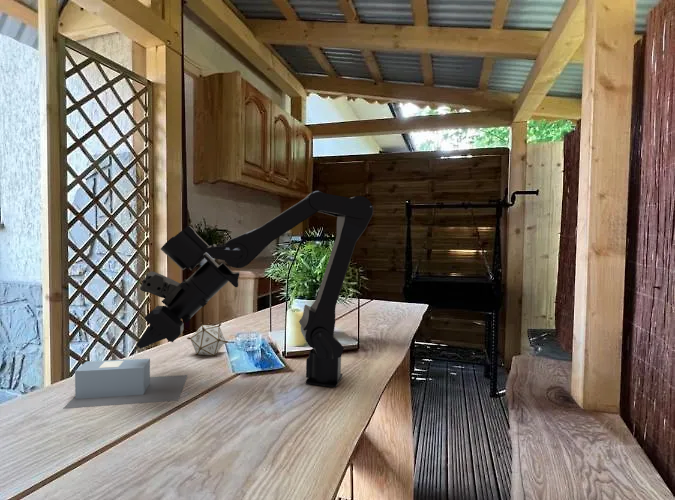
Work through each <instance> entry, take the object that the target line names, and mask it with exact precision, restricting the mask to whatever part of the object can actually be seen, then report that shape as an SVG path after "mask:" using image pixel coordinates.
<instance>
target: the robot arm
mask: <svg viewBox="0 0 675 500" xmlns="http://www.w3.org/2000/svg"><path fill="white" fill-rule="evenodd" d="M317 213H322V214H325V215H329V216H333V217H337V218H336V237H335V240H334V243H333V247H332V250H331V252H330V255H329V258H328V262H327V265H326V267H325V271H324V275H323V277H322V281H321V284H320V286H319V290H318V293H317V295H316V298H315V300H314V301H313V303H312V304H311V306H310V305H308V304H305V305H304V307H303V312H302V316H301V318H300V319H299V321H298V322H299V325H300V332H301V334H302V337H303V338H304V340H305V342H306V343H307V345H308V346H309V347H310V348H311V349H310V350H309V351H308V357H307V358H306V359H305V360H306V365H305V377H306V380H305V384H306V385H313V386H320V387H329V388H336V387H338V385H339V383H340V381H341V379H342V378H343V373H341V371H342V368H341V367H342V355H343V352H344V350H345V347H344V346H343V345H342V343H341V342H340V341H339V340H338V338H337V337H336V336H335V335H334V333H335V327H336V307H337V303H338V300H339V297H340V293H341V291H342V287H343V284H344V281H345V278H346V276H347V273H348V272H347V271H348V269H349V266H350V263H351V260H352V256H353V254H354V250H355V248H356V247H355V246H356V244H357V242H358V240H359V238H361V236H362V235H363V234H364V232H365V230H366V229H367V228H368V225H369V223H370V222H371V220H372V217H373V215H374V206H373V203H372V202H371V201H370V200H369V198H367V197H366V196H362V195H357V196H352V197H347V196H341V195H337V194H331V193H325V192H322V190H321V191H320V190H315V191H312V192H310V193H308V194H307V195H306V196H305V198H303V199H301V200H300V201H299V202H297V203H295V204H294V205H291V207H288V209H285V210H284V211H283V212H281V213H279V214H278V215H277V216H275V217H274V218H272V219H270V220H269V221H267V222H266V223H264V224H262V225H261V226H258V227H256V228H254V229H251V230H249V231H247V232H244V233H242V234H241V233H240V234H239V235H237V236H235V237H232V238H230V239H229V240H228V241H226V242H225V243H219V244H215V243H213V244H212V245H209V244H208V243H207V242H206V241H205V240H204V239H203V238H202V237H201V236H200V235H199V234H198V233H197V232H196V230H195V229H194V228H193V227H192V226H190V225H187V226H186V227H185V228H184V229H183V230H181V231H180V232H178V233H177V234H175V236H174V235H173V236H171V238H169V240H168V241H166V242H165V243H164V244H163V245H162V247H160V251H161V252H162V253H164V254H165V255H166V256H167V257H168V258H170V259H171V261H172V262H174V263H175V264H176V265H177V266H178V267H179V268H180V269H181V270H182V271H184V270H185V269H187V270H190V271H193V269H195V268H196V267H197V266H198V265H199V264H200V263H201V262H202V261H203V260H206V261H205V262H204V263H203V264H202V265H201V266H199V268H198V269H196V271H194V273H192V274H191V275H190V276H189V277H188V278H187V279H186V278H185V279H184V280H183V281H181V282H178V281H176V280H174V279H173V278H170V277H167V276H165V275H163V274H161V273H159V272H155V271H150V272H148V273H147V274H145V275H146V276H145V277H144V279H142V281H141V285H140V287H139V290H140V291H142V292H143V293H149V294H151V295H154V296H156V297H159V298H162V300H161V303H163V305H157V306H155V307H154V308H153V309H152V310H151V311H150V312H149V313H148V314H146V316H145V317H144V320H145V322H147V323H148V324H149V326H148V327H147V329H146V330H145V331H144V333H143V334H142V336H141V338H140V339H139V340H138V341H137V342H136V345H135V346H136V347H137V348H139V349H144V348H146V347H147V346H150V345H153V344H155V343H157V342H160V341H163V340H167V341H168V342H170V343H173V342H174V341H176V340H177V339H178V338H179V336H180V337H181V335H182V333H183V331H184V329H185V328H184V323H186V324H187V323H188V322H190V320H191V319H192V317H193V316H194V315H195V314H196V313H197V312H198V311H199V310H200V309H202V308H204V307H205V306H206V305H207V304H208V302H209V301H210V300H212V298H213V297H214V296H215V295H216V294H218V292H219V291H220V290H222V289H223V288H224V286H226V285H227V284H228V283H230V284H231V285H232V286H233V287H234V288H238V287H239V277H240V274H241V273H240V272H239V271H236V272H235V271H234V272H233V270H231V269H230V267H232V268H235V269H241V268H245V267H246V266H249V264H251V263H252V261H254V259H256V258H257V257H258V256H259V255H260V254H261V253H262V252H263V251H264V250H265V248H267V247H268V246H269V245H270V244H271V243H272V242H273V241H276V240H277V239H278V238H279V237H281V236H282V235H284V234H286V233H287V232H289V231H290V230H292V229H293V228H295V227H297V226H298V225H300V224H301V223H303V222H305V221H306V220H307V219H309V218H310V217H311V216H313V215H315V214H317ZM214 259H216V260H220V261H224V262H222V263H220V264H219V263H217V262H216V261H215V260H214ZM225 263H226V264H227V265H226V264H225ZM228 266H229V267H228Z"/></svg>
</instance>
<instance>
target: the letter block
mask: <svg viewBox="0 0 675 500" xmlns="http://www.w3.org/2000/svg"><path fill="white" fill-rule="evenodd" d="M150 377H151V358H133V359H132V358H131V359H112V360H111V359H110V360H89V361H85V362H84V363H83V364H81V365H80V366H79V367H78V368H77V369H75V370H74V394H75V396H74V397H75V399H84V398H99V397H114V396H129V395H143V394H144V393H145V391H146V389H147V388H148V386H149V384H150Z"/></svg>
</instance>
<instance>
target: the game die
mask: <svg viewBox="0 0 675 500" xmlns="http://www.w3.org/2000/svg"><path fill="white" fill-rule="evenodd" d="M221 326H222V323H219V324H218V325H214V324H213V325H209V324H203V322H202V321H201V322H200V326H199V327H198V329H197V330H196V331H195V333H193V334H192V335H191V337H189V336H188V337H186V339H187V340H190V342H191V345H192V346H193V349H194V351H195V353H196V354H195V356H211V357H212V356H213V357H216V356H217V355H216V354H217V353H218V352H219V351H220V350H221V348H222V347H223V345H224V344H227V343H229V341H228V340H225V337H224V334H223V332H222V329H221V328H220V327H221Z"/></svg>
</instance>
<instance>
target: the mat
mask: <svg viewBox="0 0 675 500" xmlns="http://www.w3.org/2000/svg"><path fill="white" fill-rule="evenodd" d="M188 376H189V374H182V375H181V374H180V375H179V374H178V375H165V376H164V375H162V376H160V375H159V376H150V384H149V386H148V388H147V389H146V391H145V393H144V394H143V395H129V396H114V397H99V398H84V399H75V396H74V397H73V398H72V399H71V400H70V401H69V402H68V403H66V404H65V406H64V407H63V408H62V410H63V409H78V408H81V409H82V408H90V407H94V408H95V407H107V406H119V405H120V406H122V405H123V406H124V405H134V404H150V403H162V402H163V403H164V402H177V401H179V400H180V397H181V394H182V391H183V389H184V386H185V383H186V380H187V378H188Z"/></svg>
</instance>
